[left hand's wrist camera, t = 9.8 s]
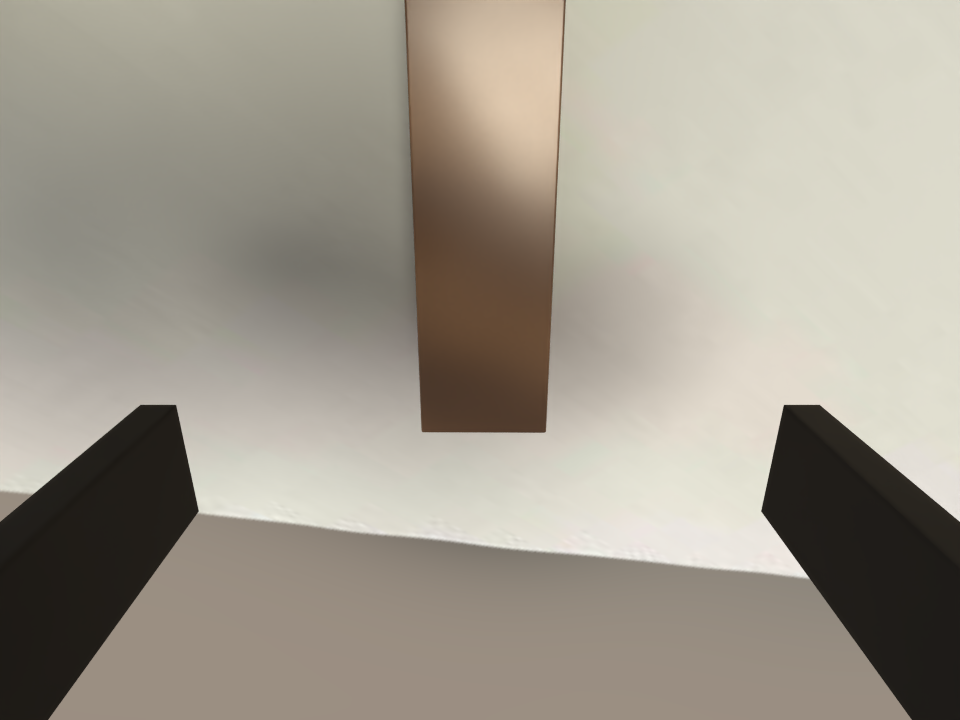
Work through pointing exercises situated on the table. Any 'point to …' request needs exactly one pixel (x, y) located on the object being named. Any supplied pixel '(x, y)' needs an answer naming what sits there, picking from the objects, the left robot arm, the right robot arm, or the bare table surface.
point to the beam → (484, 206)
